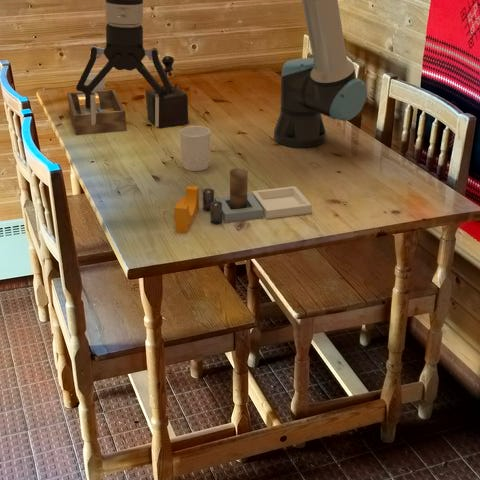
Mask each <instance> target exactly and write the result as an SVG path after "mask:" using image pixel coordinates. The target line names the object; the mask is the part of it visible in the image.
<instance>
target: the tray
mask: <svg viewBox="0 0 480 480" xmlns="http://www.w3.org/2000/svg"><path fill="white" fill-rule="evenodd" d="M251 194H252V195H253V196H254V198H255V199H256V201H257V202H258V203H259V205H260V206H261V207H262V209H263V218H265V219H266V220H271V219H280V218H288V217H295V216H302V215H309V214H312V210H313V209H312V208H313V207H312V206H313V204H311V202H310V201H309V200H308V199H307V197H305V195H304V194H303V193H302V192H301V191H300V190H299V189H298V188H297V186H296V185H294V186H286V187H277V188H269V189H260V190H258V189H257V190H252V191H251Z"/></svg>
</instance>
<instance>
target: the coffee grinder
mask: <svg viewBox="0 0 480 480" xmlns="http://www.w3.org/2000/svg"><path fill="white" fill-rule="evenodd" d="M161 62H162V63H161V64H162V65H164V68H163V69H164V71H165V73H166V75H167V76H168V74H170V73H171V72H172V71H174V69H173V64H174V62H175V58H174V56H173V57H172V56H171V55H166V56H164V57H162V59H161ZM177 85H178V83H176V84H174V85H172V88H173V93H172V94H168V95H166V96H165V97H164V110H163V111H159V127H156V129H163V128H164V129H165V128H170V127H177V126H185V125H186V126H187V125H188V124H190V122H189V104H188V103H189V100H188V99H189V97H188V94H187V93H186V92H184V91H183V90H182V87H181V88H180V87H178V86H177ZM160 86H161V87H162V88H165V87H164V85H163V84H162V85H160ZM155 94H157V93H156V91H155V90H154V89H153V88H151V89H146V90H145V100H146V111H147V112H146V114H147V121H149V122H150V123H151V124H152V125H153V126H154V127H155Z"/></svg>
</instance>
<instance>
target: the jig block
mask: <svg viewBox="0 0 480 480" xmlns="http://www.w3.org/2000/svg"><path fill="white" fill-rule="evenodd" d="M214 201H220V202H221V203H222V221H223V222H224V223H225V224H226V223H232V222H233V223H234V222H239V221H240V222H241V221H248V220H255V219H263V218H264V215H263V209H262V207H261V206H260V205H259V203H258V202H257V201H256V199H255V198H254V196H253V195H252V193H247V208H242V209H234V210H231V209H230V195H229V196H220V197H214Z"/></svg>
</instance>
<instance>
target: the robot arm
mask: <svg viewBox="0 0 480 480" xmlns="http://www.w3.org/2000/svg"><path fill="white" fill-rule="evenodd" d="M104 2H105V22H107V24H106V25H105V40H106V41H105V43H106V44H105V47H99V46H97V45H92V46H91V48H90V56H89V60H88V62H87V64H86V66H85V68H84V70H83V72H82V74H81V76H80V79H79V80H78V83H77V84H76V87H75V89H76V92H83V93H84V94H85V104H86V108H87V109H91V125H95V123H96V103H95V92H92V91H93V90H94V88H95V87H96V86H97V85H98V84H99V83H100V81H101V80H102V79H103V78H104V77H105V78H106V76H107V75H108V74H109V73H110V72H111V70H113V69H115V70H117V71H123V70H127V71H133V70H134V71H135V69H136V70H137V72H138V73H140V75H141V76H142V77H143V78H144V80H145V81H146V82H147V84H149V86H150V87H151V89H154V90H155V91H156V93H157V94H155V126H154V127H155V128H157V127H159V111H163V110H164V97H165V96H166V95H168V94H172V93H173V88H172V86H173V85H172V84H171V81H170V79H169V77H168V75H166V73H165V71H164V69H165V68H164V67H163V64H162V63H161V62H162V61H160V57H159V50H158V48H156V47H153V48H150V49H145V47H144V27H143V26H142V25H141V24H142V23H144V0H104ZM301 4H302V8H303V14H304V19H305V23H306V24H305V25H306V29H307V35H308V38H309V43H310V48H311V49H310V50H311V55H312V57H306V58H305V57H304V58H295V59H291V60H287V61H286V62H284V63H283V65H282V68H281V69H282V70H281V75H280V77H281V78H280V80H281V83H280V86H281V87H280V113H279V116H278V118H277V121H276V124H275V126H274V129H273V140H274V141H275V142H276V143H277V144H279V145H283V146H286V147H290V148H299V149H302V148H303V149H304V148H305V149H307V148H314V147H318V146H321V145H323V144H324V143H325V142H326V137H327V136H326V135H327V133H326V128H325V124H324V120H323V117H322V115H324V116H326V117H328V118H331V119H333V120H339V121H342V122H345V121H350V120H353V118H355V117H356V116H357V115H358V114H360V112H361V110H362V109H363V107H364V105H365V103H366V101H367V96H368V86H367V85H366V83H365V81H363V80H362V79H360V78H357V74H356V69H355V65H354V63H353V62H352V61H351V60H350V59H349V60H348V57H347V56H348V55H347V50H346V44H345V38H344V31H343V26H342V25H343V24H342V19H341V18H342V17H341V13H340V7H339V1H338V0H301ZM102 55H104V56H105V58H106V59H107V62H106V64H104V66H103V68H101V70H100V71H99V72H97V73H98V74H97V75H96V77H95V78H94V79H93V80H92V81H91V82H90V84H89V85H88V86H86V85H84V84H85V82H86V80H87V78H88V75H89V73H91V71H92V69H93V67H94V65H95V63H96V61H97V59H100V58H101V56H102ZM145 57H147V58H148V60H149V61H152V63H153V66H154V67H155V70H156V72H157V74H158V76H159V78H160V80H161V82H162V85H164V87H165V88H162V87H161V86H162V85H161V84H160V83H159V82H158V81H157V79H156V78H155V77H154V76H153V75H152V73H151V72H150V71H149V70H148V69H147V67H146V66H145V64H144V63H143V62H142V60H144V58H145Z"/></svg>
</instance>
